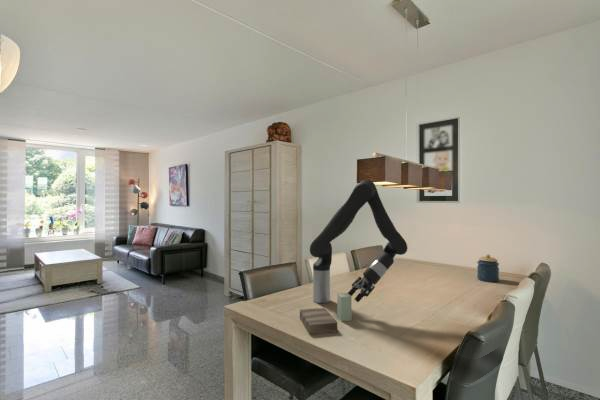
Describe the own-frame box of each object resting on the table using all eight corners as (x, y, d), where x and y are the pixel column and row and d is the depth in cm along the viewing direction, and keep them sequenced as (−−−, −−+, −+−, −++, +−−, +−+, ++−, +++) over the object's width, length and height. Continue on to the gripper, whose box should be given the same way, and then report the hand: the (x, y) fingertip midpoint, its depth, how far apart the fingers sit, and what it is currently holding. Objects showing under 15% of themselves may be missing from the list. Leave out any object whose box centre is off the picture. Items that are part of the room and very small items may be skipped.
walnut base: (299, 318, 143) (299, 309, 143) (324, 316, 146) (324, 307, 146) (309, 334, 125) (309, 324, 125) (337, 331, 128) (337, 322, 128)
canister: (479, 281, 208) (479, 255, 209) (475, 277, 221) (475, 252, 221) (502, 283, 205) (501, 256, 205) (495, 278, 217) (495, 253, 217)
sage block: (337, 317, 144) (337, 293, 144) (347, 316, 145) (347, 293, 146) (341, 321, 139) (341, 296, 140) (351, 320, 141) (351, 296, 141)
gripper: (363, 263, 152) (341, 288, 150) (376, 270, 138) (353, 297, 136) (373, 274, 153) (351, 298, 151) (387, 281, 140) (364, 308, 137)
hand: (352, 297), depth 143 cm, fingers open, 8 cm apart
